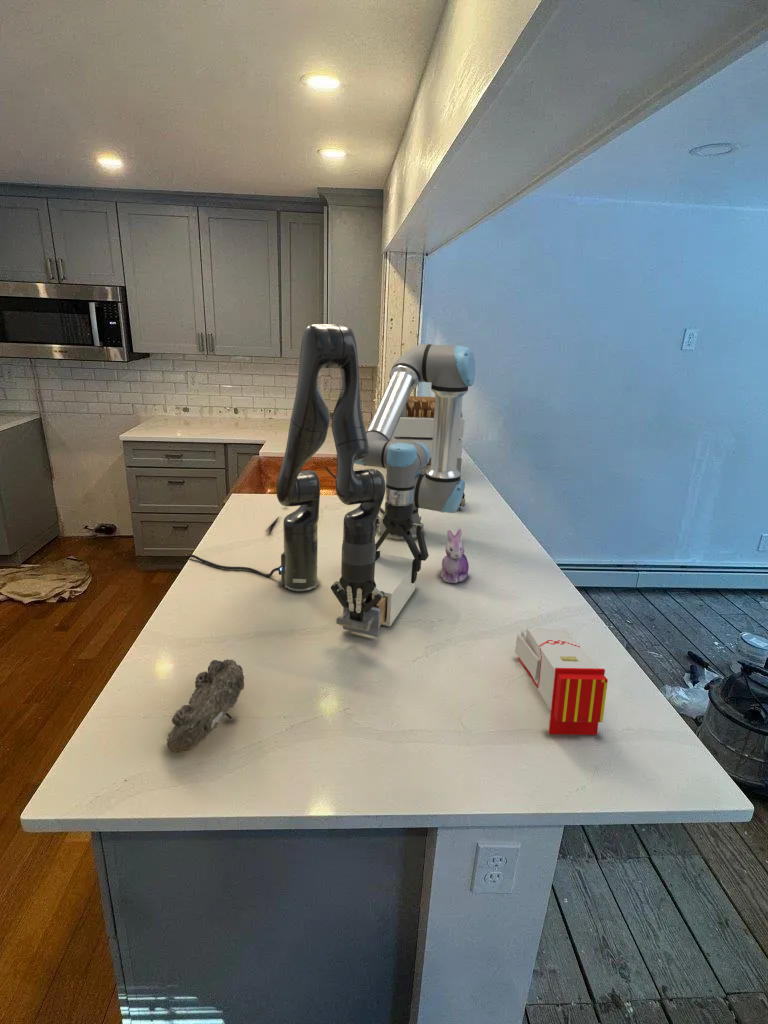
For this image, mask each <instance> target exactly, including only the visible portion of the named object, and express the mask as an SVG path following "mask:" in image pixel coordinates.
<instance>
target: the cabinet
mask: <svg viewBox="0 0 768 1024" xmlns="http://www.w3.org/2000/svg"><path fill="white" fill-rule="evenodd" d="M414 559H415V558H410V557H405V556H398V555H393V554H387V553H382V554H380V557H379V558H378V559H377V560H376V561H375V575H374V581H375V583H376V588H377V589H378V590H379V591H383V592H384V596H386V597H388V600H387V617H386V619H385V620H384V621H383V623H382V624H381V626H386V627H391V626H392V624H393V623H394V621H395V620H396V619H397V617H398V615H400V612H401V611H402V609H403V608H404V606H405V605H406V603H408V600H409V599H410V598H411V596H412V595H413V593H414V592H415V590H416V582H417V580H416V581H415V582H414V584H413V583H411V577H412V561H413V560H414ZM371 593H372V594H373V592H371Z"/></svg>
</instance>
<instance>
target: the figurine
mask: <svg viewBox="0 0 768 1024" xmlns="http://www.w3.org/2000/svg"><path fill="white" fill-rule="evenodd" d="M446 534H447V543H446V546H445V548H444V549H445V554H446V555H444V557H443V558H442V560H441V569H440V577H441V578H442V580H443V582H445V583H451V584H457V583H461V582H463V581H465V580H466V579H467V577H468V574H469V569H470V568H469V567H470V566H469V565H470V564H469V561H468V558H467V556H466V555H465V554H464V553H465V547H464V545H463V542H462V535H463V529H462V528H459V529H458V530H457V531H456V533H455V535H454V534H453V532H452V530H451V529H448V530H447V532H446Z"/></svg>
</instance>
